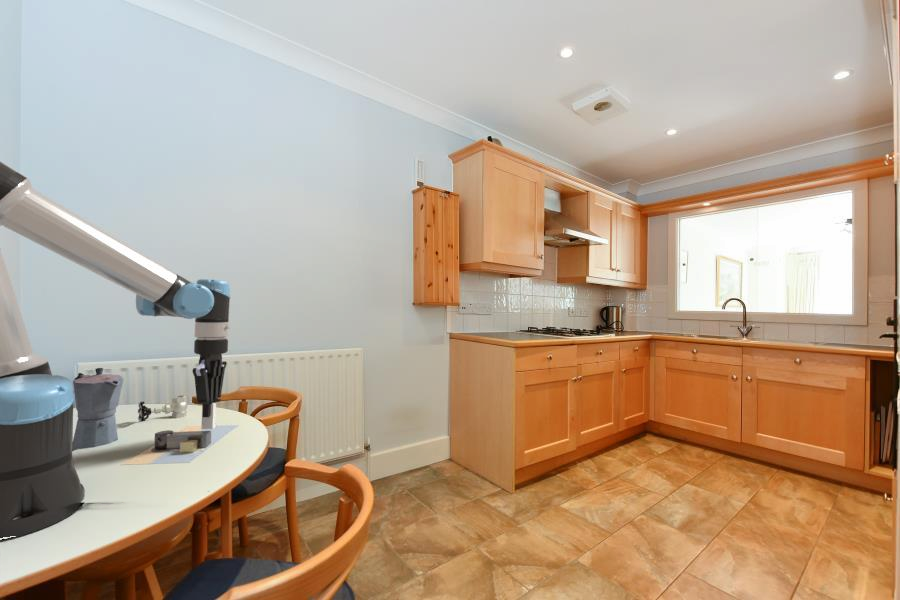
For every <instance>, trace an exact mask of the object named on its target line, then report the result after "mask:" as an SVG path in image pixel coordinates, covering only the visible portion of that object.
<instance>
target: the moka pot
mask: <svg viewBox="0 0 900 600" xmlns="http://www.w3.org/2000/svg"><path fill="white" fill-rule="evenodd" d="M94 370H95V374H84V373H81V372H78V374H77V375H76V377H75V378H74V380H73V381H72V383H73V390H74V392H75V399H74V403H75V409H76V411H77V419H76V420H77V421H76V426H75V430H74V433H73V443H72V452H74V451H76V450H77V451H78V450H79V449H80V450H82V449H90V448H98V447H101V446H106V445H110V444H112V443H114V442H116V441H117V440H118V439H119V438H118V437H119V436H118V429H117V419H116V413H117V407H119V402H120V400H121V399H120V398H121V392H122V388H123V385H124V377H123V376H122V375H120V374H109V373H107V374H104V373H103V372H104V368H103V367H97V368H95V369H94Z"/></svg>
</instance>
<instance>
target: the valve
mask: <svg viewBox="0 0 900 600" xmlns="http://www.w3.org/2000/svg"><path fill="white" fill-rule="evenodd" d="M187 399H188V398H187V395H185V394H182V395H181V394H179V395H174V396H172V399H171V400H172V401H171V403H165V404H164V405H163V406H162V407H161V406H157V407H154V408H153V409H152V408H151V407H150V408H149V407H148V406H146V405H144V404H145V401H140V402H139V403H138V409H137V413H138V417H137V420H138V421H139V422H146V420H148V419H149V417H150V416H151V415H152V414H153V413H154V414H155V415H157V414H160V413H161V412H162V413H164V414H170V413H171V419H181V417H183V418H185V417H186V416H187V408H188V403H187Z"/></svg>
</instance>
